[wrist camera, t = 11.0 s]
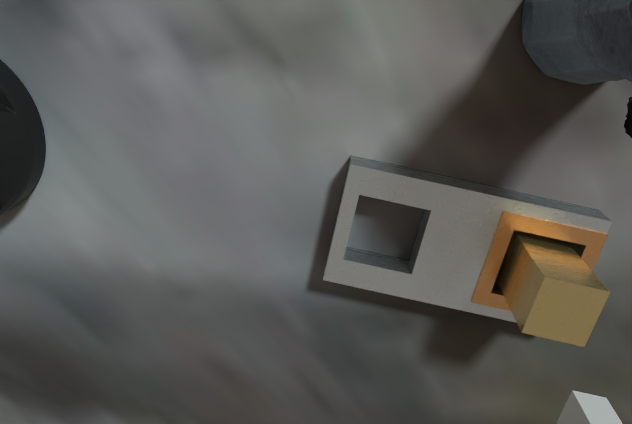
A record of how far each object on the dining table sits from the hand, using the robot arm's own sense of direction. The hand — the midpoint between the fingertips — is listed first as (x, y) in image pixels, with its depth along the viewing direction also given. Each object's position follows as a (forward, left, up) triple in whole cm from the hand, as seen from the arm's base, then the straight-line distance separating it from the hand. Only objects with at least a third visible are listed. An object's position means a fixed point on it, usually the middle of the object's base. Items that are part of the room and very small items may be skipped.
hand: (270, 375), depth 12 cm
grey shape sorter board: (+12, -8, -32) cm, 35 cm away
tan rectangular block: (+18, -8, -32) cm, 37 cm away
